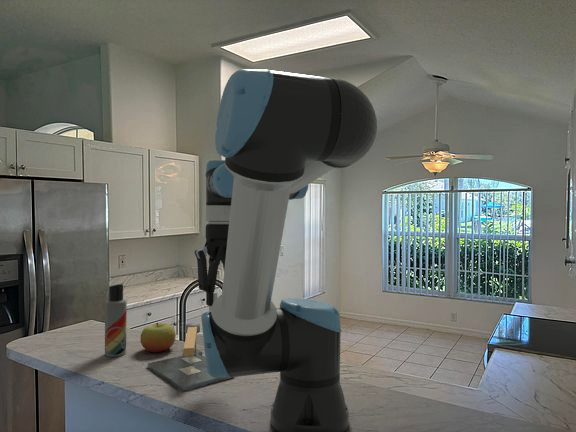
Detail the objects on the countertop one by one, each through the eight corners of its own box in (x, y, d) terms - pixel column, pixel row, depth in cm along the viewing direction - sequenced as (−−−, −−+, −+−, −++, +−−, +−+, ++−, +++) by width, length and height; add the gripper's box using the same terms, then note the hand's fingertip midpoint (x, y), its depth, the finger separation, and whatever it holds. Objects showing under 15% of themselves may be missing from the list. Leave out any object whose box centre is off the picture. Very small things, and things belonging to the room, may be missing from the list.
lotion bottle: (118, 358, 117) (119, 286, 117) (100, 356, 118) (101, 285, 118) (130, 351, 122) (130, 283, 122) (112, 350, 123) (113, 282, 123)
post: (202, 354, 120) (202, 333, 120) (189, 357, 117) (189, 335, 117) (195, 351, 123) (195, 330, 123) (183, 353, 120) (183, 332, 120)
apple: (153, 343, 130) (153, 317, 130) (181, 346, 127) (181, 320, 127) (133, 353, 121) (133, 325, 121) (163, 356, 118) (163, 328, 118)
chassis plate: (234, 377, 103) (234, 372, 103) (182, 391, 94) (182, 386, 94) (195, 356, 119) (196, 351, 119) (147, 367, 110) (147, 362, 110)
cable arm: (186, 330, 122) (186, 322, 122) (200, 329, 123) (200, 322, 123) (180, 357, 99) (180, 347, 99) (197, 356, 99) (197, 346, 99)
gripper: (240, 222, 112) (239, 310, 112) (183, 222, 102) (182, 319, 102) (256, 223, 107) (255, 315, 107) (198, 223, 96) (197, 325, 96)
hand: (220, 317), depth 104 cm, fingers open, 3 cm apart
